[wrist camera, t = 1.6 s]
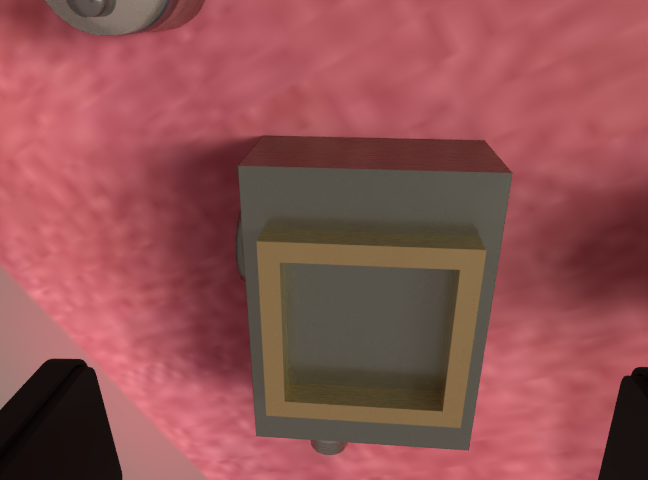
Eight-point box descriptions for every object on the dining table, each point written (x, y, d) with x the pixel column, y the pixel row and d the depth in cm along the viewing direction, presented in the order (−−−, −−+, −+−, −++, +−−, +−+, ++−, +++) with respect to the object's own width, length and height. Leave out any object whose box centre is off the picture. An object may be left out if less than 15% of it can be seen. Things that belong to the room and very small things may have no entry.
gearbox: (252, 135, 29) (215, 175, 22) (484, 140, 28) (521, 183, 21) (267, 403, 36) (243, 494, 30) (448, 414, 35) (467, 511, 29)
